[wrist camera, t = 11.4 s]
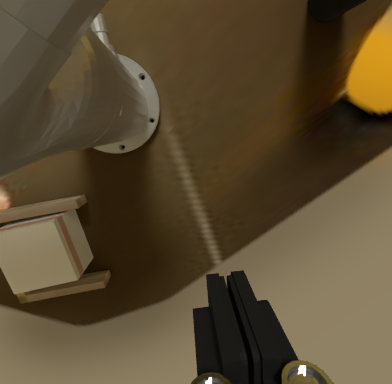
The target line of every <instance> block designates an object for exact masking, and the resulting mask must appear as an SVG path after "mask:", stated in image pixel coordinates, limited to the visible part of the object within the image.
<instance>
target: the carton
mask: <svg viewBox="0 0 392 384" xmlns="http://www.w3.org/2000/svg"><path fill="white" fill-rule="evenodd" d="M93 258H94V257H93V255H92V252H91V249H90V247H89V244H88V242H87V239H86V236H85V234H84V231H83V229H82V226H81V223H80V221H79V218H78V216H77V213H76V210H75V209H72V210H67V211H62V212H56V213H51V214H45V215H40V216H35V217H29V218H24V219H18V220H14V221H12V222H10V223H9V224H7V225H5V226H3V227H1V228H0V268H1V270H2V272H3V274H4V276H5V277H6V279H7V281H8V283H9V285H10V287H11V289H12V291H13V293H14V294H19V293H23V292H28V291H32V290H36V289H41V288H45V287H50V286H54V285H59V284H63V283H67V282H72V281H76V280H78V279H79V278H80V277H81V276H82V274H83V273H84V271H85V269H86V268H87V266H88V265H89V263H90V262H91V261H92V259H93Z"/></svg>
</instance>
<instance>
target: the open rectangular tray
mask: <svg viewBox="0 0 392 384" xmlns="http://www.w3.org/2000/svg"><path fill="white" fill-rule="evenodd" d="M86 202H87V199H86V196H85V194H84V195H78V196H73V197H68V198H62V199H57V200H51V201H46V202H40V203H35V204H30V205H24V206H19V207H13V208H8V209H2V210H0V228H1V227H3V226H5V225H7V224H9V223H10V222H11V221H13V220H18V219H24V218H29V217H35V216H40V215H45V214H51V213H56V212H62V211H67V210H72V209H78V208H80V207H81V206H82V205H84V204H85V203H86ZM110 277H111V274H110V271H109V270H104V271H99V272H94V273H88V274H83V275H82V276H81V277H80V278H79V279H78V280H76V281H72V282H67V283H63V284H59V285H54V286H50V287H45V288H41V289H36V290H32V291H28V292H23V293H19V294H16V295H17V297H18V299H19V302H20V304H21V303H27V302H32V301H37V300H43V299H48V298H53V297H59V296H64V295H69V294H74V293H80V292H85V291H90V290H96V289H101V288H105V287H106V285H107V283H108V281H109V279H110Z"/></svg>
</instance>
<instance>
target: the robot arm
mask: <svg viewBox="0 0 392 384" xmlns="http://www.w3.org/2000/svg"><path fill="white" fill-rule="evenodd" d="M107 2H108V0H0V180H1V179H3V178H5V177H7V176H9V175H11V174H13V173H15V172H17V171H19V170H21V169H23V168H25V167H27V166H29V165H30V164H33V163H35V162H37V161H39V160H41V159H44V158H46V157H49V156H53V155H57V154H61V153H65V152H72V151H77V150H82V149H87V148H94V149H96V150H99V151H102V152H106V153H112V154H116V153H125V152H129V151H132V150H135V149H137V148H138V147H140V146H142V145H143V144H144V143H145V142H146V141H148V140H149V138H150V137H151V136H152V134H153V133H154V131H155V129H156V127H157V124H158V121H159V117H160V102H159V96H158V93H157V89H156V87H155V85H154V83H153V81H152V79H151V78H150V77H149V75H148V74H147V73H146V71H145V70H144V69H143V68H142V67H141V66H140V65H138V64H137V63H136V62H135V61H133V60H131V59H129V58H127V57H125V56H123V55H119V54H116V52H115V48H114V46H112V45H110V41H109V37H108V35H109V33H108V29H107V25H106V21H105V17H104V15H102V14H99V13H100V11H101V10H102V9H103V7H104V6H105V4H106V3H107ZM89 26H90V27H89ZM142 76H144V77H145V79H144V80H142V79H141V77H142ZM151 119H154V122H153V123H151ZM123 145H124V146H125V149H123V148H122V146H123ZM206 278H207V290H208V303H209V307H203V308H195V309H193V319H194V333H195V347H196V361H197V375H198V376H197V378H195V379H194V380H193V381H192V383H191V384H334V383H333V382H332V380H331V379H330V378H329V377H328V376H327V375H326V373H325V372H324V371H323V370H322V369H320V368H319V367H317V366H316V365H314V364H312V363H310V362H307V361H301V360H298V358H297V356H296V354H295V352H294V350H293V348H292V346H291V344H290V342H289V340H288V339H287V337H286V335H285V333H284V331H283V329H282V327H281V325H280V323H279V321H278V319H277V317H276V315H275V313H274V311H273V309H272V307H271V305H270V303H269V302H268V301H267V300H261V301H257V299H256V297H255V295H254V293H253V291H252V288H251V286H250V284H249V282H248V279H247V277H246V275H245V273H244V271H243V270H242V271H234V272H231V275H229V276H227V286H226V283H225V279H224V276H220V277H219V274H217V273H216V274H208V275H206Z"/></svg>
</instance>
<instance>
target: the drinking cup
mask: <svg viewBox="0 0 392 384" xmlns="http://www.w3.org/2000/svg"><path fill="white" fill-rule="evenodd" d="M365 1H366V0H308V5H309V10H310V12H311V14H312V16H313V17H314V18H315V19H317V20H319V21H322V22H327V21H330V20H332V19H334V18H336V17H338V16H340V15H341V14H343V13H345V12H347V11H348V10H350V9H352V8H354V7H356V6H357V5H359V4H361V3H363V2H365Z"/></svg>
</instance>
